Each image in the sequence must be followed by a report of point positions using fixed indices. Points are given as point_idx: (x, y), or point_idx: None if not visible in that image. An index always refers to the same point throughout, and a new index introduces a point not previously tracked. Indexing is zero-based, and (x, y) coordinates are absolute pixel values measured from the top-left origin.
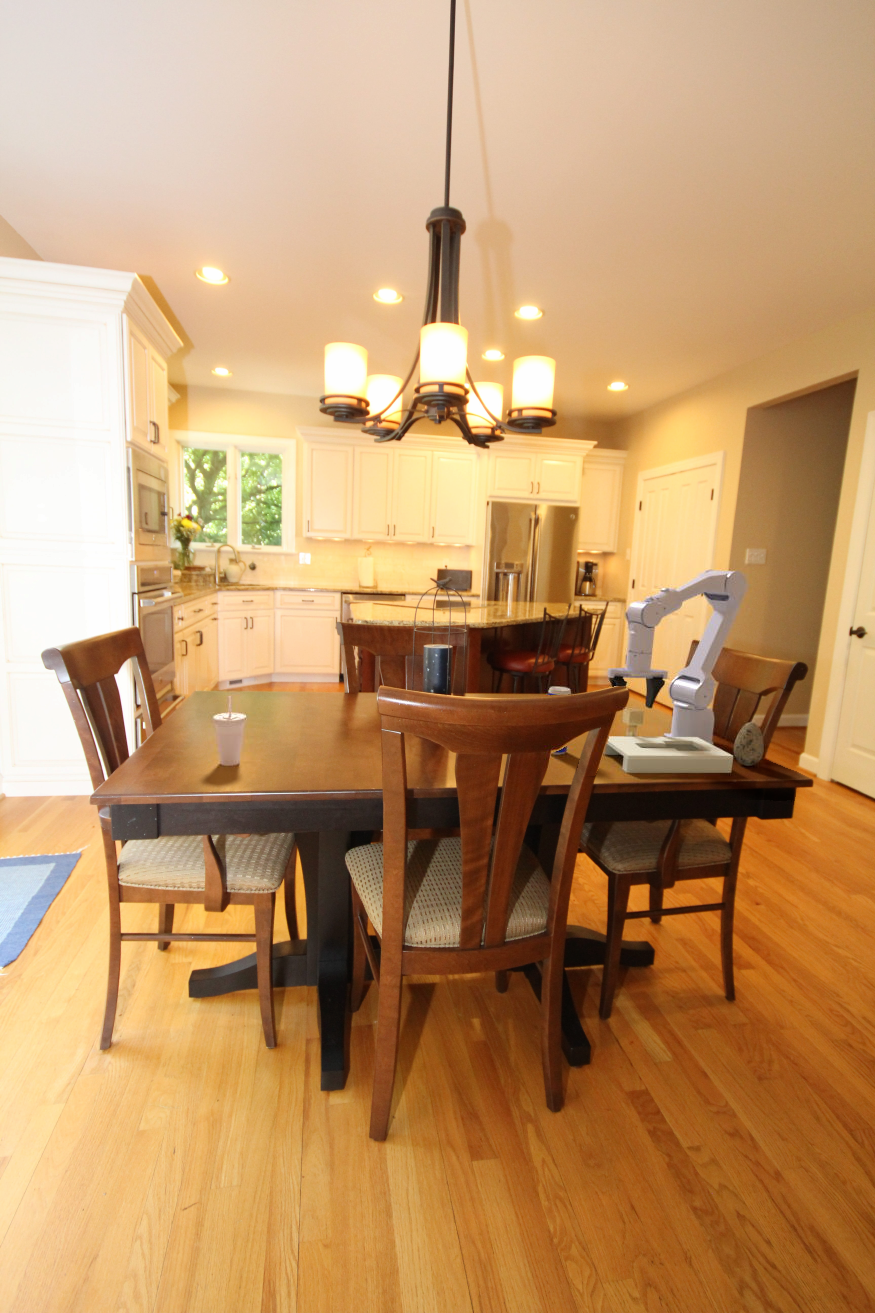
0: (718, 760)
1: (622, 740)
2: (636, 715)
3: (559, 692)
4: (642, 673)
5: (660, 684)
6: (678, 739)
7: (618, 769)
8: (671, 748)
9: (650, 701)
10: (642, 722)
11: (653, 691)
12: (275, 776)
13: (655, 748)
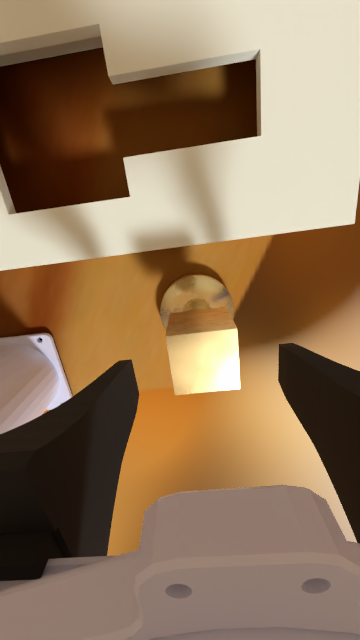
0: None
1: (294, 172)
2: (200, 324)
3: None
4: (325, 541)
5: (4, 445)
6: (58, 228)
7: None
8: (121, 67)
9: (121, 380)
10: (170, 317)
11: (91, 410)
12: None
13: (196, 52)
